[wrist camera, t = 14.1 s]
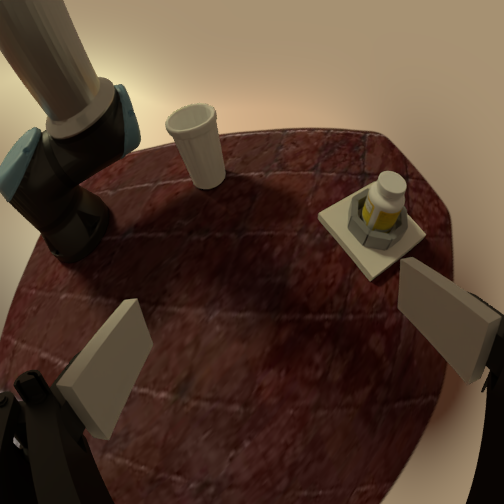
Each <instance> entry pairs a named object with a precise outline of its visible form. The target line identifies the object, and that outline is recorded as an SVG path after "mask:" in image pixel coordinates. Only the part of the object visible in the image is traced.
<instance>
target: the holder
mask: <svg viewBox="0 0 504 504" xmlns="http://www.w3.org/2000/svg"><path fill="white" fill-rule="evenodd" d="M373 183H375V182H373ZM373 183H371V184H369V185H368V186H366V187H364V188H362V189H361V190H359V191H357V192H355V193H354V194H352V195H350V196H348V197H346V198H345V199H343V200H341V201H339V202H338V203H336V204H334V205H332V206H331V207H329V208H327V209H325V210H324V211H322V212H320V213H319V214H318V220H319V221H320V222H321V223H322V224H323V225H324V227H325V228H326V229H327V230H328V231H329V232H330V234H331V235H332V236H333V237H334V238H335V239H336V241H337V242H338V243H339V244H340V245H341V247H342V248H343V249H344V250H345V251H346V253H347V254H348V255H349V256H350V257H351V259H352V260H353V261H354V262H355V264H356V265H357V266H358V267H359V268H360V270H361V271H362V272H363V273H364V275H365V276H366V277H367V279H368V280H369V281H372V280H373V279H374V278H376V277H377V276H378V275H380V274H381V273H382V272H383V271H385V270H386V269H387V268H389V267H390V266H391V265H392V264H394V263H395V262H396V261H397V260H399V259H400V258H401V257H402V256H404V255H405V254H406V253H407V252H408V251H410V250H411V249H412V248H413V247H414V246H416V245H417V244H418V243H419V242H420V241H421V240H423V238H424V237H425V236H426V234H425V233H424V232H423V231H422V230H421V228H420V227H419V226H418V225H417V224H416V223H415V222H414V221H413V220H412V219H411V217H410V216H409V215H408V214H407V209H406V208H405V206H403V208H402V210H401V212H400V214H399V216H398V218H397V220H396V222H395V224H394V226H393V228H392V229H391V231H390V233H389V234H387V233H382V232H377V231H372V230H370V229H369V228H368V227H367V226H366V224H365V223H364V222H363V221H362V220H361V219H360V216H361V213H362V210H363V207H364V204H365V201H366V198H367V195H368V192H369V189H370V187H371V186H372V184H373Z"/></svg>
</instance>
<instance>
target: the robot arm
mask: <svg viewBox="0 0 504 504" xmlns="http://www.w3.org/2000/svg"><path fill="white" fill-rule="evenodd" d="M0 50H1V52H2V54H3V55H4V57H5V58H6V60H7V61H8V63H9V64H10V65H11V67H12V68H13V70H14V71H15V73H16V74H17V75H18V77H19V78H20V80H21V81H22V82H23V84H24V85H25V87H26V88H27V89H28V91H29V92H30V93H31V95H32V96H33V97H34V98H35V100H36V101H37V102H38V104H39V105H40V106H41V108H42V109H43V110H44V112H45V113H46V114H47V115H48V117H47V120H46V130H45V131H44V132H41V130H40V129H38V128H37V127H34V128H32V129H31V130H28V131H27V132H26V133H25V134H24V135H23V136H22V137H21V138H20V139H19V140H18V141H17V142H16V143H15V144H14V146H13V147H12V149H11V150H10V151H9V152H8V154H7V155H6V157H5V159H4V160H3V162H2V164H1V166H0V193H1V194H2V195H3V196H4V198H5V199H6V201H7V202H9V203H10V204H11V205H12V206H13V207H14V208H15V209H17V211H18V212H19V213H20V214H21V215H23V217H25V218H26V219H27V220H28V221H29V222H30V223H31V224H32V225H33V226H34V227H35V228H36V229H37V230H39V231H40V233H41V235H42V237H43V238H44V240H45V242H46V244H47V246H48V248H49V250H50V251H51V253H52V254H53V255H54V256H55V257H56V258H58V259H59V260H60V261H62V262H65V263H73V262H76V261H79V260H81V259H82V258H84V257H85V256H87V255H88V254H89V253H90V252H91V251H92V250H93V249H94V248H95V247H96V246H97V245H98V243H99V242H100V240H101V239H102V237H103V235H104V233H105V231H106V229H107V225H108V221H109V211H108V208H107V206H106V205H105V203H104V202H103V201H102V200H101V198H100V197H98V196H97V195H95V194H93V193H92V192H90V191H88V190H86V189H84V188H83V187H81V186H79V184H80V183H82V182H83V181H85V180H86V179H88V178H89V177H91V176H93V175H94V174H96V173H97V172H99V171H101V170H102V169H104V168H106V167H107V166H109V165H111V164H113V163H114V162H116V161H118V160H120V159H122V158H124V157H125V155H127V154H128V153H130V152H131V151H133V150H134V149H136V148H137V147H138V146H139V144H140V141H141V135H140V130H139V126H138V122H137V119H136V116H135V113H134V110H133V107H132V103H131V101H130V98H129V95H128V93H127V91H126V89H125V87H124V86H123V85H122V84H119V85H113V83H112V82H111V81H110V80H108V79H106V78H102V77H97V75H96V73H95V71H94V69H93V67H92V64H91V63H90V60H89V58H88V56H87V54H86V52H85V50H84V47H83V45H82V43H81V41H80V39H79V37H78V34H77V32H76V30H75V27H74V25H73V23H72V20H71V18H70V16H69V13H68V11H67V8H66V6H65V4H64V1H63V0H0ZM398 309H399V310H400V311H401V312H402V313H403V314H404V315H405V316H406V317H407V318H408V319H409V320H410V321H411V322H412V323H413V324H414V325H415V327H416V328H417V329H418V330H419V331H420V332H421V333H422V334H423V335H424V336H425V337H426V338H427V340H428V341H429V342H430V343H431V344H432V345H433V346H434V347H435V348H436V349H437V351H438V352H439V353H440V354H441V355H442V356H443V357H444V358H445V360H446V361H447V362H448V363H449V364H450V365H451V366H452V368H453V369H454V370H455V371H456V372H457V373H458V375H459V376H460V377H461V378H462V379H463V381H464V382H465V383H466V384H467V385H469V384H471V383H472V382H474V381H476V380H478V379H480V378H481V376H482V374H483V371H484V369H485V366H487V367H488V368H489V369H490V372H489V374H488V377H487V379H486V381H485V383H484V386H483V388H482V391H481V392H484V390H485V388H486V387H487V398H486V410H485V420H484V428H483V435H482V441H481V447H480V452H479V457H478V462H477V467H476V471H475V475H474V478H473V482H472V486H471V490H470V493H469V496H468V499H467V502H466V504H504V315H503V314H502V313H500V312H499V311H498V310H496V309H495V308H493V307H492V306H491V305H488V303H486V302H485V301H483V300H482V299H481V298H479V297H478V296H476V295H474V294H472V293H469V292H467V291H465V290H464V289H462V288H461V287H459V286H458V285H456V284H455V283H453V282H452V281H450V280H449V279H447V278H445V277H444V276H442V275H441V274H439V273H438V272H436V271H435V270H433V269H431V268H430V267H428V266H427V265H425V264H423V263H422V262H420V261H419V260H417V259H415V258H414V257H409V258H404V259H400V282H399V297H398ZM152 346H153V342H152V339H151V337H150V334H149V331H148V328H147V326H146V323H145V320H144V317H143V314H142V311H141V308H140V305H139V302H138V299H128V300H124V301H123V302H122V303H121V304H120V306H119V307H118V308H117V309H116V310H115V311H114V313H113V314H112V315H111V316H110V317H109V318H108V320H107V321H106V322H105V323H104V324H103V326H102V327H101V328H100V329H99V330H98V332H97V333H96V334H95V335H94V336H93V338H92V339H91V340H90V341H89V343H88V344H87V345H86V346H85V348H84V349H83V350H82V351H80V352H79V353H78V354H76V355H75V356H74V357H73V359H72V360H71V361H70V362H69V364H68V365H67V366H66V367H65V370H63V371H62V373H61V374H60V375H59V376H58V378H57V379H56V380H55V382H54V383H53V384H52V386H51V387H50V388H49V386H48V384H47V383H46V381H45V380H44V378H43V376H42V374H41V373H40V372H39V371H38V370H30V371H27V372H25V373H23V374H21V375H20V376H19V377H18V378H17V379H16V380H15V382H14V385H13V386H14V387H15V389H16V390H17V392H18V393H19V395H20V396H21V398H22V399H23V401H17V399H16V398H15V396H14V395H13V393H11V392H3V393H0V504H114V502H113V500H112V498H111V496H110V494H109V492H108V490H107V488H106V486H105V484H104V481H103V479H102V477H101V475H100V472H99V470H98V468H97V465H96V463H95V460H94V458H93V455H92V453H91V450H90V447H89V445H88V442H87V439H86V438H85V436H84V435H83V434H82V433H83V431H84V429H85V428H86V429H87V430H88V431H89V433H90V434H91V435H92V436H93V437H94V438H99V439H105V440H109V439H110V437H111V434H112V432H113V430H114V427H115V425H116V423H117V421H118V418H119V416H120V414H121V412H122V409H123V407H124V405H125V403H126V401H127V399H128V396H129V394H130V392H131V390H132V388H133V386H134V383H135V381H136V379H137V377H138V375H139V373H140V371H141V369H142V367H143V365H144V363H145V361H146V358H147V356H148V354H149V352H150V350H151V348H152ZM14 437H15V438H16V440H17V441H18V442H19V443H20V448H18V447H17V446H16V445H15V444H14V443H13V438H14Z"/></svg>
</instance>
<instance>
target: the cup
mask: <svg viewBox="0 0 504 504" xmlns="http://www.w3.org/2000/svg"><path fill="white" fill-rule="evenodd" d="M216 119H217V115H216V111H215V109H214V107H212V106H211V105H209V104H202V103H197V104H191V105H188V106H184V107H182V108H180V109H178V110H176V111H175V112H173V113H172V114H171V115H170V116H169V117H168V119H167V121H166V123H165V126H166V130H167V131H168V133H169V134H170V135H171V136H172V137H173V139H174V141H175V143H176V145H177V148H178V150H179V152H180V154H181V156H182V159H183V161H184V163H185V165H186V167H187V170H188V172H189V174H190V176H191V178H192V180H193V183H194V185H195V186H196V187H197V188H201V189H211V188H214V187H216V186H218V185H219V184H221V183H222V182H223V180H224V179H225V175H226V172H225V167H224V162H223V156H222V151H221V145H220V140H219V134H218V128H217V123H216Z"/></svg>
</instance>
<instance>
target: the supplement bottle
mask: <svg viewBox="0 0 504 504" xmlns="http://www.w3.org/2000/svg"><path fill="white" fill-rule="evenodd" d="M405 190H406V182H405V180H404V179H403V178H402V177H401V176H400V175H399V174H397V173H395V172H392V171H385V172H382V173H381V174H380V175H379V178H378V181H377V182H375V183H373V184H372V186H371V187H370V189H369V192H368V195H367V198H366V201H365V204H364V207H363V210H362V213H361V216H360V219H361V220H362V221H363V222H364V223H365V224H366V226H367V227H368V228H369V229H370V230H372V231H377V232H382V233H387V234H389V233H390V231H391V229H392V228H393V226H394V224H395V222H396V220H397V218H398V216H399V214H400V212H401V210H402V208H403V206H404V203H405V197H404V193H405Z"/></svg>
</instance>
